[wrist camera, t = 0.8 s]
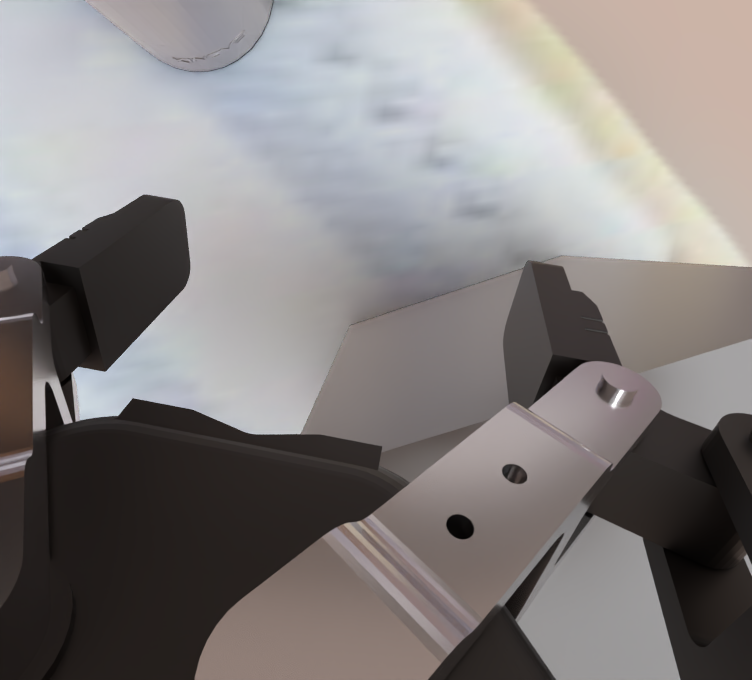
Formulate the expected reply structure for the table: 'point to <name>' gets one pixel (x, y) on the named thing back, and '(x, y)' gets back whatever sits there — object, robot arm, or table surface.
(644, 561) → the grey rectangular block
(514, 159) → the table surface
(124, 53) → the table surface
